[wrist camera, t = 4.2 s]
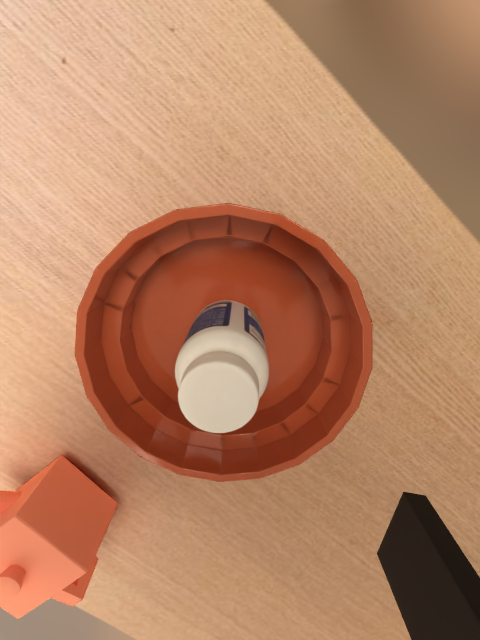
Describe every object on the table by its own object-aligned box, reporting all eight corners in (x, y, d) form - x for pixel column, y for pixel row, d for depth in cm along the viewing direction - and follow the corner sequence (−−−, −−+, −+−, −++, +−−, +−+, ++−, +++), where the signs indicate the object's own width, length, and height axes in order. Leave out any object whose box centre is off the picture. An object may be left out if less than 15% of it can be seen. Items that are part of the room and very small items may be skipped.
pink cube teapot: (38, 421, 29) (-40, 500, 21) (138, 508, 31) (102, 607, 23) (-19, 469, 30) (-112, 559, 22) (81, 548, 33) (29, 653, 25)
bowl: (378, 236, 24) (416, 243, 18) (311, 449, 29) (326, 500, 24) (121, 182, 23) (84, 172, 18) (100, 411, 28) (68, 456, 23)
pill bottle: (185, 355, 26) (152, 431, 17) (201, 290, 25) (175, 335, 15) (251, 372, 27) (255, 456, 17) (271, 309, 25) (288, 365, 16)
